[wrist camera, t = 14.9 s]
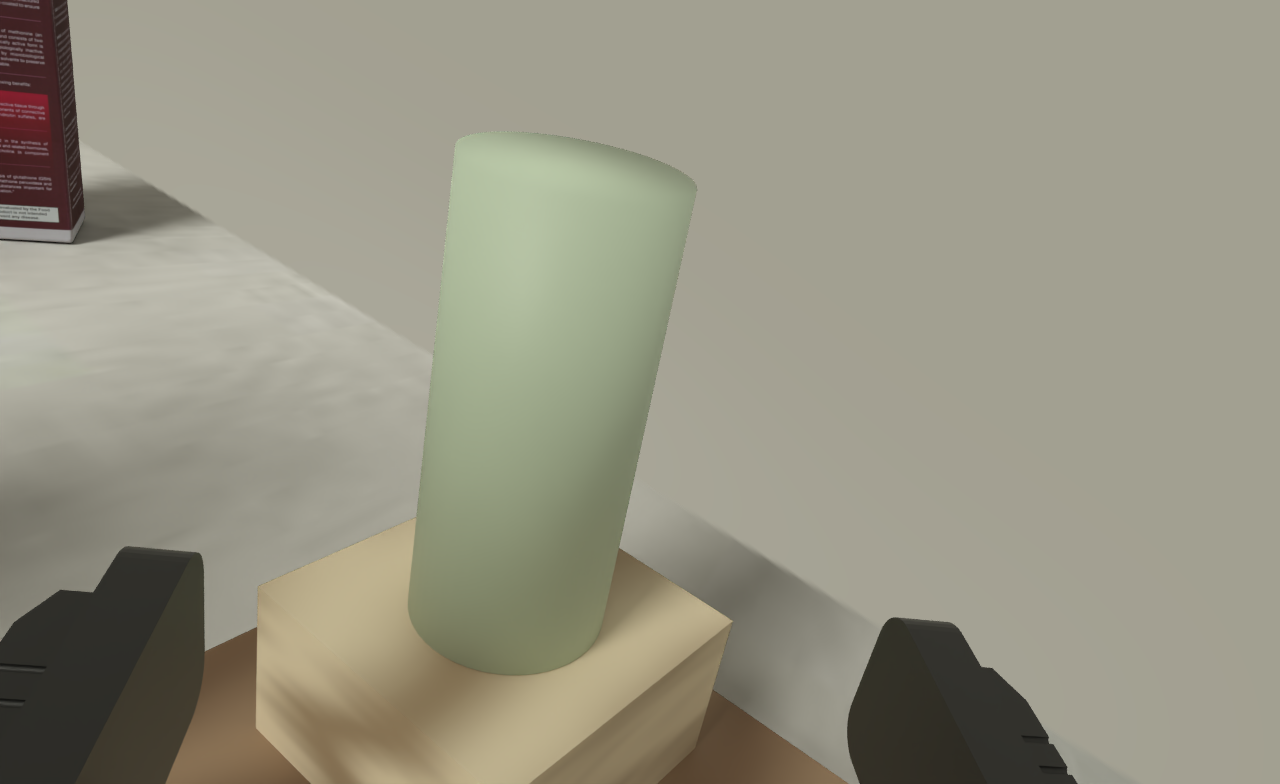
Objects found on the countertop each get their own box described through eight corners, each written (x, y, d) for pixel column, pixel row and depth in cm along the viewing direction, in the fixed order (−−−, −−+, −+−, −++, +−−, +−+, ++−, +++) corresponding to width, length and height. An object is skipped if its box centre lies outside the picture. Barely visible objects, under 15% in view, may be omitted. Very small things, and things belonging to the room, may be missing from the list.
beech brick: (255, 727, 26) (257, 586, 24) (489, 596, 33) (508, 477, 31) (476, 951, 22) (503, 803, 20) (694, 748, 29) (732, 620, 27)
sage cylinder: (365, 597, 25) (402, 136, 20) (504, 525, 29) (565, 128, 24) (510, 708, 22) (596, 214, 17) (640, 612, 26) (741, 189, 21)
